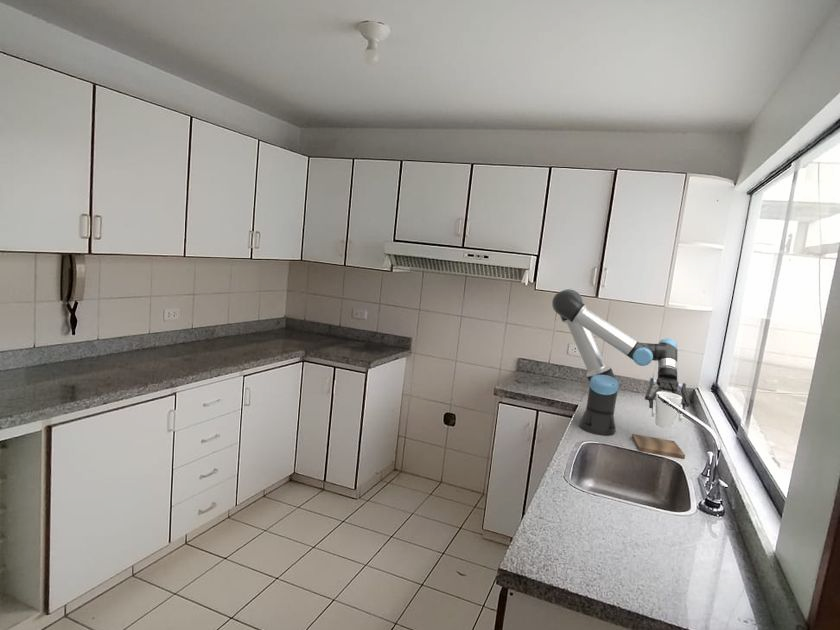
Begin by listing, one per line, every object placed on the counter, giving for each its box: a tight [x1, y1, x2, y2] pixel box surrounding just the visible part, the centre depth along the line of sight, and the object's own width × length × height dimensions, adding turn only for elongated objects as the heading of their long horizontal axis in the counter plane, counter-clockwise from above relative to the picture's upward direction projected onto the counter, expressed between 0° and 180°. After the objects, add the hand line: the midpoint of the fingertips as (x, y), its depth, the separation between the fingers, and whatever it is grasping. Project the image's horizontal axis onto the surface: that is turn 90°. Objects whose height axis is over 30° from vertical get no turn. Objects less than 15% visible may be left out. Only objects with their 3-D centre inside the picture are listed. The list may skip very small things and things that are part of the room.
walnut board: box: [631, 433, 686, 460], centre depth 212 cm, size 17×16×2 cm
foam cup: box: [655, 391, 683, 429], centre depth 209 cm, size 10×9×13 cm
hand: (666, 417), depth 207 cm, fingers closed on foam cup, 9 cm apart
